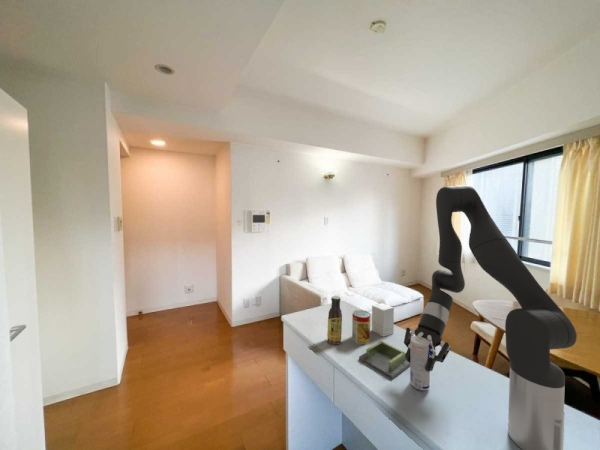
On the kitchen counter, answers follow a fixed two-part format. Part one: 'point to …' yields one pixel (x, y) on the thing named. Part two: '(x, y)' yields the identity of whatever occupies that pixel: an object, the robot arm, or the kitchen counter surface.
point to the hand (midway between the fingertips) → (417, 365)
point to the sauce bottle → (335, 321)
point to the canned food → (361, 326)
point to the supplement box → (382, 319)
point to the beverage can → (419, 362)
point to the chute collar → (385, 359)
